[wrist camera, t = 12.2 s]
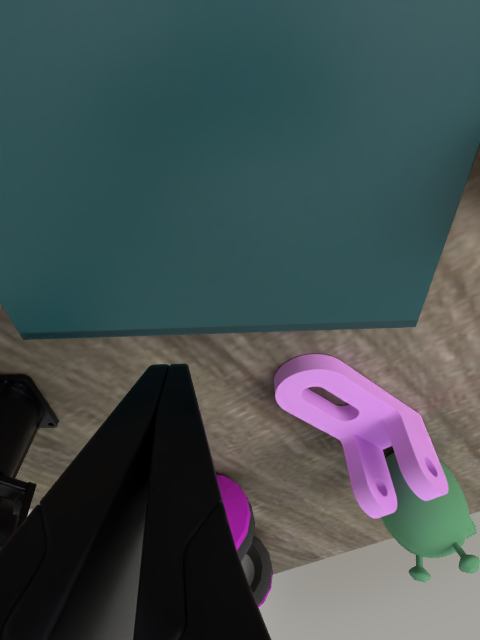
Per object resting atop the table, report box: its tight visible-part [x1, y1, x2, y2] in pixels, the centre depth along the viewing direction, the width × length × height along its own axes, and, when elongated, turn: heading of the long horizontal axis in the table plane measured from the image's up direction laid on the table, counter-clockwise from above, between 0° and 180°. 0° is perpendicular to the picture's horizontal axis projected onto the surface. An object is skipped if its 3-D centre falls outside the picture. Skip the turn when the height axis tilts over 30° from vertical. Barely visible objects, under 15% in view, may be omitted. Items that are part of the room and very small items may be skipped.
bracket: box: [274, 354, 448, 519], centre depth 27 cm, size 13×6×7 cm, turn 50°
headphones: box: [216, 475, 273, 607], centre depth 37 cm, size 21×9×20 cm, turn 10°
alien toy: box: [381, 453, 480, 582], centre depth 32 cm, size 7×8×10 cm
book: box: [0, 0, 480, 340], centre depth 16 cm, size 17×22×3 cm
